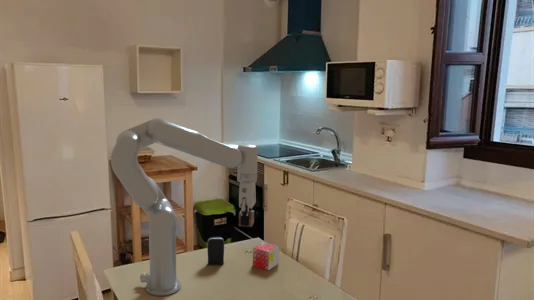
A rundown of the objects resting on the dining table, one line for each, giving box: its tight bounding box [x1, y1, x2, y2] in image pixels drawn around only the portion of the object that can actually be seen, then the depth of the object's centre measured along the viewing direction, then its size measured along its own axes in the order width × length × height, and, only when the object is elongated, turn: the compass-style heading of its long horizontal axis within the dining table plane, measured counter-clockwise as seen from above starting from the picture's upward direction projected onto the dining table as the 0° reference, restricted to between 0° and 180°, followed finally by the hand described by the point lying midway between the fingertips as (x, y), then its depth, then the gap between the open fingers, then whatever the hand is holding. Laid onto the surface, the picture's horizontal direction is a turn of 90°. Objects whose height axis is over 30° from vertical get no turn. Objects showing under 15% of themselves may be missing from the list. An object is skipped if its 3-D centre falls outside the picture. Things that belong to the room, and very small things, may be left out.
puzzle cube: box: [252, 241, 280, 271], centre depth 179 cm, size 8×8×8 cm
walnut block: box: [238, 209, 255, 228], centre depth 164 cm, size 5×5×5 cm
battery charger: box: [206, 236, 225, 266], centre depth 179 cm, size 7×4×11 cm, turn 100°
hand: (246, 222), depth 164 cm, fingers closed on walnut block, 5 cm apart
